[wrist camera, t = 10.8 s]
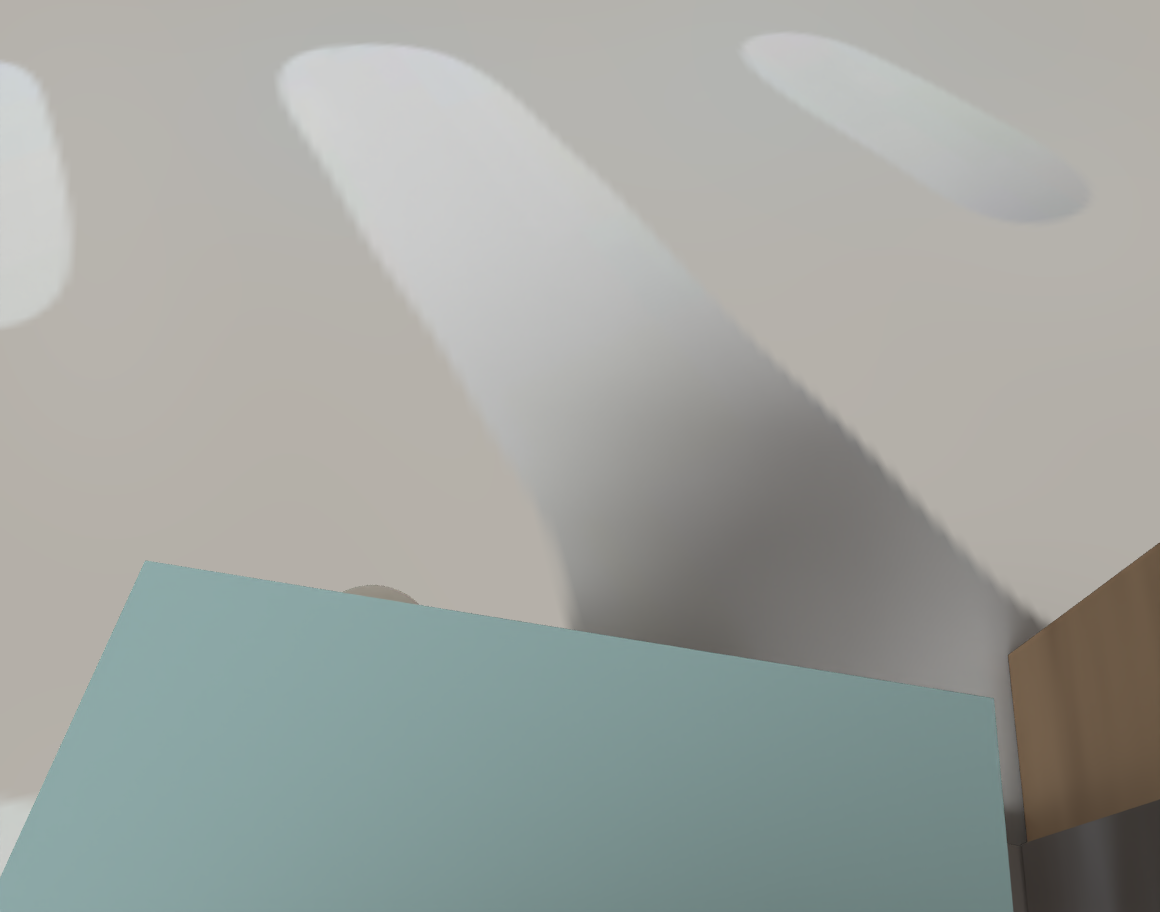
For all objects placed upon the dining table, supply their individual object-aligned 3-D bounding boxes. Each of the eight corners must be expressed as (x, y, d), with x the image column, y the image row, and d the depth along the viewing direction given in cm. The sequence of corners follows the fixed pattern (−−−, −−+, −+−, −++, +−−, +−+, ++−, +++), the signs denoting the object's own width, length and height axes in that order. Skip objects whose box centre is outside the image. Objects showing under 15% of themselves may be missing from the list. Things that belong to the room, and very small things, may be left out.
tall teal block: (695, 845, 16) (981, 554, 5) (677, 1076, 14) (1047, 1283, 4) (420, 797, 16) (200, 435, 6) (367, 1018, 14) (-86, 1063, 4)
